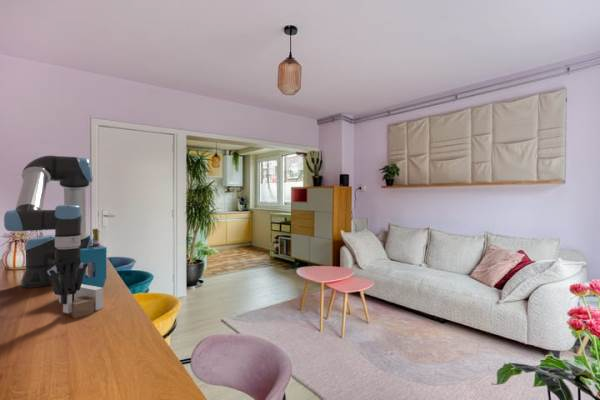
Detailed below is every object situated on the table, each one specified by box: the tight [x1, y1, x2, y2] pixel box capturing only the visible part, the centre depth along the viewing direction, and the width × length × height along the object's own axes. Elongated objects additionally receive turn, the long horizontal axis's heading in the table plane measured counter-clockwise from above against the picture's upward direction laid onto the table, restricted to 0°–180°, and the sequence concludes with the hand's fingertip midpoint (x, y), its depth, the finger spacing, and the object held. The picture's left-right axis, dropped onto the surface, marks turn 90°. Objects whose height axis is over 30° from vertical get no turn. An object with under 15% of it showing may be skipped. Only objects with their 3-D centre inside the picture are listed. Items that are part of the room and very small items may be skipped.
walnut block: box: [66, 296, 95, 319], centre depth 114 cm, size 8×6×5 cm
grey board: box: [58, 284, 104, 312], centre depth 122 cm, size 22×3×8 cm, turn 68°
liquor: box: [87, 228, 105, 277], centre depth 145 cm, size 7×7×28 cm
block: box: [75, 246, 108, 289], centre depth 137 cm, size 12×5×20 cm, turn 126°
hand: (67, 312), depth 111 cm, fingers closed
